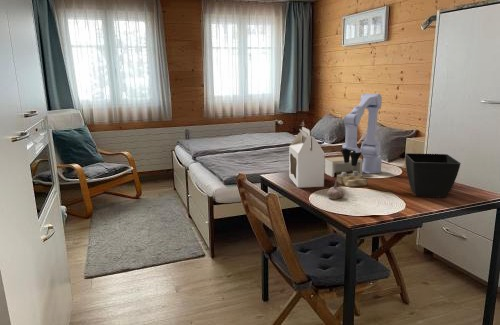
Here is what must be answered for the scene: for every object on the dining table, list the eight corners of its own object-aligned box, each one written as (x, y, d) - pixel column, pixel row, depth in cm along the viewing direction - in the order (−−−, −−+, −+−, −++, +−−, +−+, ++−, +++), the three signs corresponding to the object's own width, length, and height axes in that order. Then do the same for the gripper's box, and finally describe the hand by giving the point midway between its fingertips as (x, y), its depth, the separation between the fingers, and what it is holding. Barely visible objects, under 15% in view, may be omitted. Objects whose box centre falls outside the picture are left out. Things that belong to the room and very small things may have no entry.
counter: (353, 170, 220) (353, 155, 218) (362, 174, 210) (362, 159, 208) (324, 172, 215) (324, 158, 214) (332, 177, 206) (332, 161, 204)
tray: (357, 179, 199) (357, 170, 198) (368, 185, 189) (368, 174, 188) (336, 181, 197) (336, 171, 196) (346, 187, 187) (346, 176, 185)
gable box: (289, 176, 208) (289, 126, 203) (312, 175, 210) (313, 125, 204) (297, 188, 187) (298, 131, 181) (324, 186, 188) (325, 130, 182)
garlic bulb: (343, 195, 173) (343, 178, 171) (344, 200, 166) (345, 183, 164) (326, 195, 174) (326, 178, 173) (326, 200, 167) (327, 182, 166)
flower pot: (457, 200, 163) (461, 162, 159) (411, 199, 166) (413, 161, 163) (444, 188, 181) (447, 153, 177) (402, 187, 184) (404, 153, 181)
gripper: (337, 136, 196) (336, 161, 199) (351, 140, 183) (350, 167, 186) (349, 135, 198) (348, 160, 201) (364, 139, 184) (363, 166, 187)
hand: (350, 164), depth 193 cm, fingers open, 7 cm apart
